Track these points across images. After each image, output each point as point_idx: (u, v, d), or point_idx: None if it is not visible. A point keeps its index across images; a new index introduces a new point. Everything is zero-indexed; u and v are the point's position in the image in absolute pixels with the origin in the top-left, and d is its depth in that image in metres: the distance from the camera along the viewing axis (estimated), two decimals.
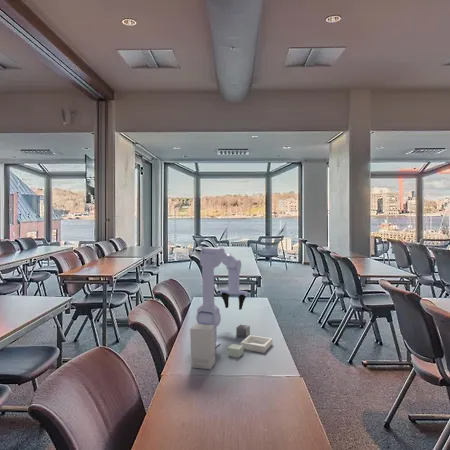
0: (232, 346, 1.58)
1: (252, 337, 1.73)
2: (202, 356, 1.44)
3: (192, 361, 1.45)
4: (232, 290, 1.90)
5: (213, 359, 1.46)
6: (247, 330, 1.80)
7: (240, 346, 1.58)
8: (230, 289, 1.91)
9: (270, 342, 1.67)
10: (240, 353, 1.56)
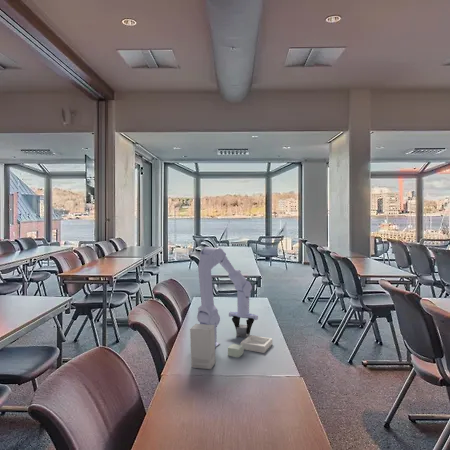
0: (232, 346, 1.58)
1: (252, 337, 1.73)
2: (202, 356, 1.44)
3: (192, 361, 1.45)
4: (242, 314, 1.79)
5: (213, 359, 1.46)
6: None
7: (240, 346, 1.58)
8: (239, 312, 1.79)
9: (270, 342, 1.67)
10: (240, 353, 1.56)
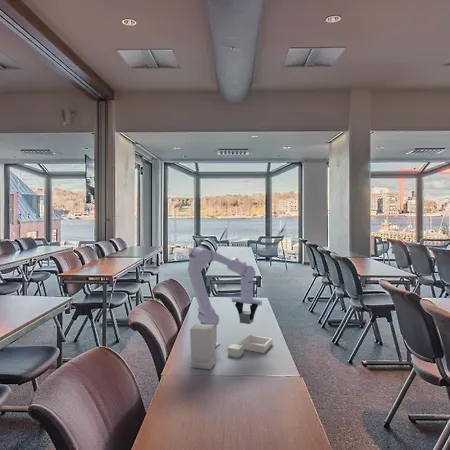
0: (232, 346, 1.58)
1: (252, 337, 1.73)
2: (202, 356, 1.44)
3: (192, 361, 1.45)
4: (245, 299, 1.74)
5: (213, 359, 1.46)
6: None
7: (240, 346, 1.58)
8: (243, 298, 1.75)
9: (270, 342, 1.67)
10: (240, 353, 1.56)
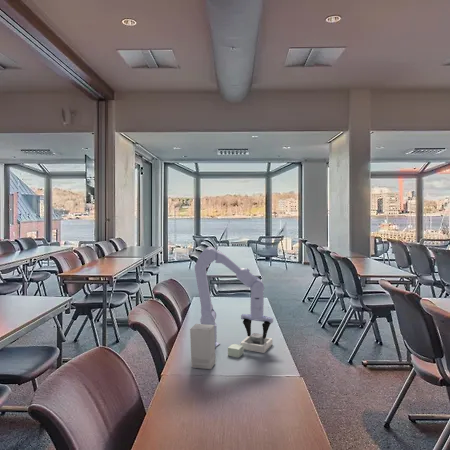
0: (232, 346, 1.58)
1: None
2: (202, 356, 1.44)
3: (192, 361, 1.45)
4: (255, 316, 1.64)
5: (213, 359, 1.46)
6: (261, 339, 1.65)
7: (240, 346, 1.58)
8: (253, 315, 1.64)
9: (270, 342, 1.67)
10: (240, 353, 1.56)
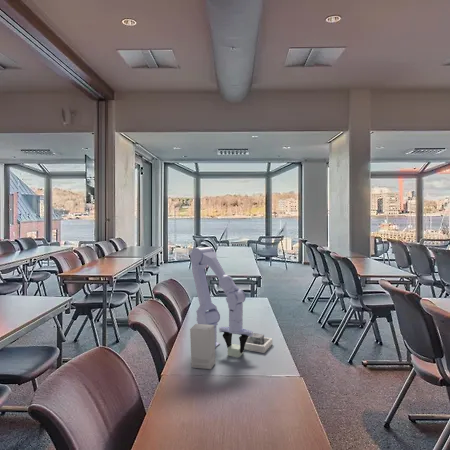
0: (232, 346, 1.58)
1: None
2: (202, 356, 1.44)
3: (192, 361, 1.45)
4: (234, 329, 1.55)
5: (213, 359, 1.46)
6: (261, 339, 1.65)
7: None
8: (231, 328, 1.56)
9: (270, 342, 1.67)
10: (240, 353, 1.56)
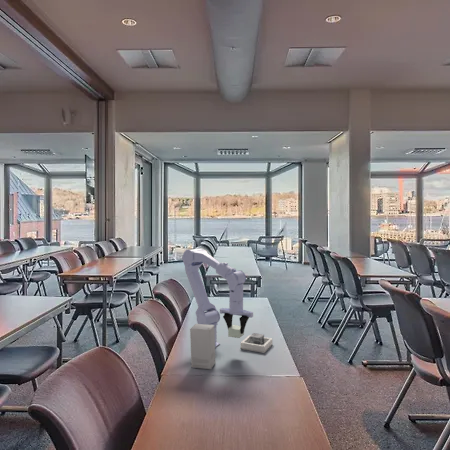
0: (232, 327, 1.58)
1: None
2: (202, 356, 1.44)
3: (192, 361, 1.45)
4: (234, 310, 1.55)
5: (213, 359, 1.46)
6: (261, 339, 1.65)
7: (240, 327, 1.58)
8: (232, 309, 1.56)
9: (270, 342, 1.67)
10: (240, 334, 1.56)
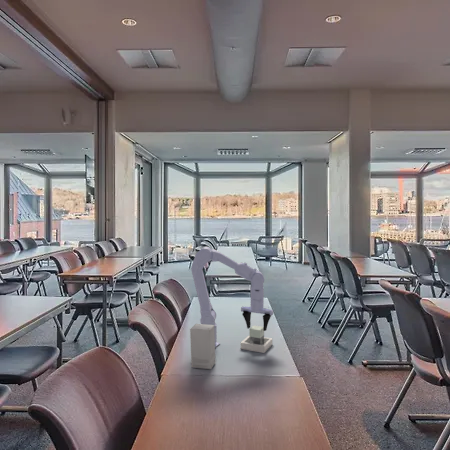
0: (253, 327, 1.67)
1: None
2: (202, 356, 1.44)
3: (192, 361, 1.45)
4: (255, 308, 1.64)
5: (213, 359, 1.46)
6: (261, 339, 1.65)
7: (261, 327, 1.67)
8: (253, 307, 1.64)
9: (270, 342, 1.67)
10: (261, 334, 1.65)
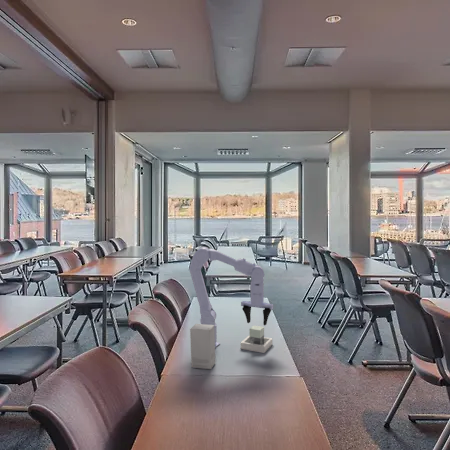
0: (253, 327, 1.67)
1: None
2: (202, 356, 1.44)
3: (192, 361, 1.45)
4: (255, 303, 1.64)
5: (213, 359, 1.46)
6: (261, 339, 1.65)
7: (261, 327, 1.67)
8: (253, 301, 1.64)
9: (270, 342, 1.67)
10: (261, 334, 1.65)
